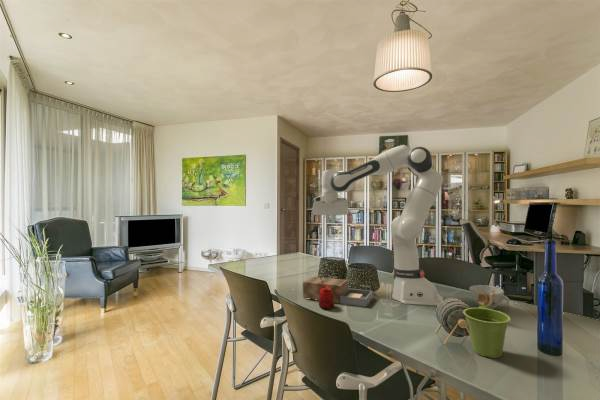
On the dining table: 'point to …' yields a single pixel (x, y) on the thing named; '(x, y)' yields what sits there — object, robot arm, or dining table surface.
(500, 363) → the dining table surface
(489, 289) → the teacup
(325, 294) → the red clay folk toy
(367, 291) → the box
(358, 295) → the tile
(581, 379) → the dining table surface
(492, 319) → the plant pot
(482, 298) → the snail figurine
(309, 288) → the brown rectangular box
